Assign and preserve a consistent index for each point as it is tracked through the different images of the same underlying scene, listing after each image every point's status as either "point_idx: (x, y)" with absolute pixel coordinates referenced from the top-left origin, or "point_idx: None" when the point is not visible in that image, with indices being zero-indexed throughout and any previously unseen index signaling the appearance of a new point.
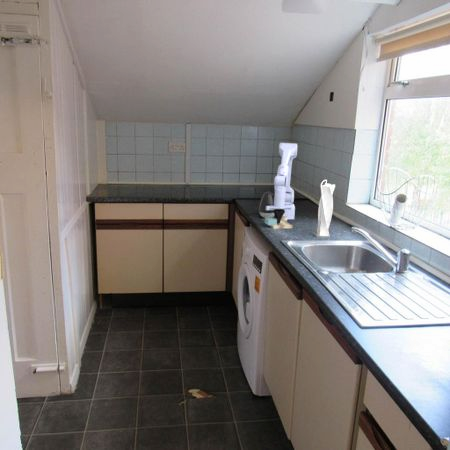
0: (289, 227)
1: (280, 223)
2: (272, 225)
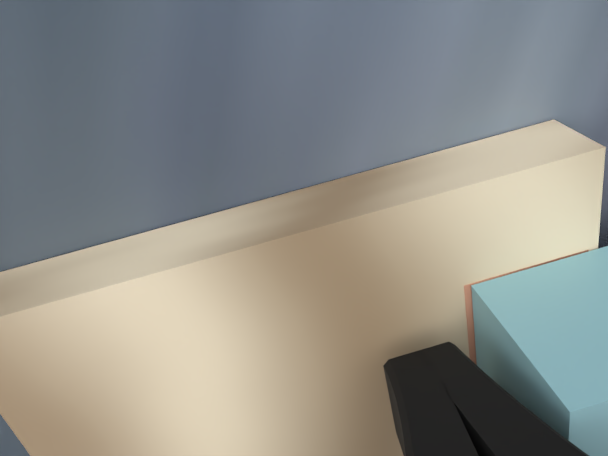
0: (72, 262)
1: (314, 446)
2: (594, 232)
